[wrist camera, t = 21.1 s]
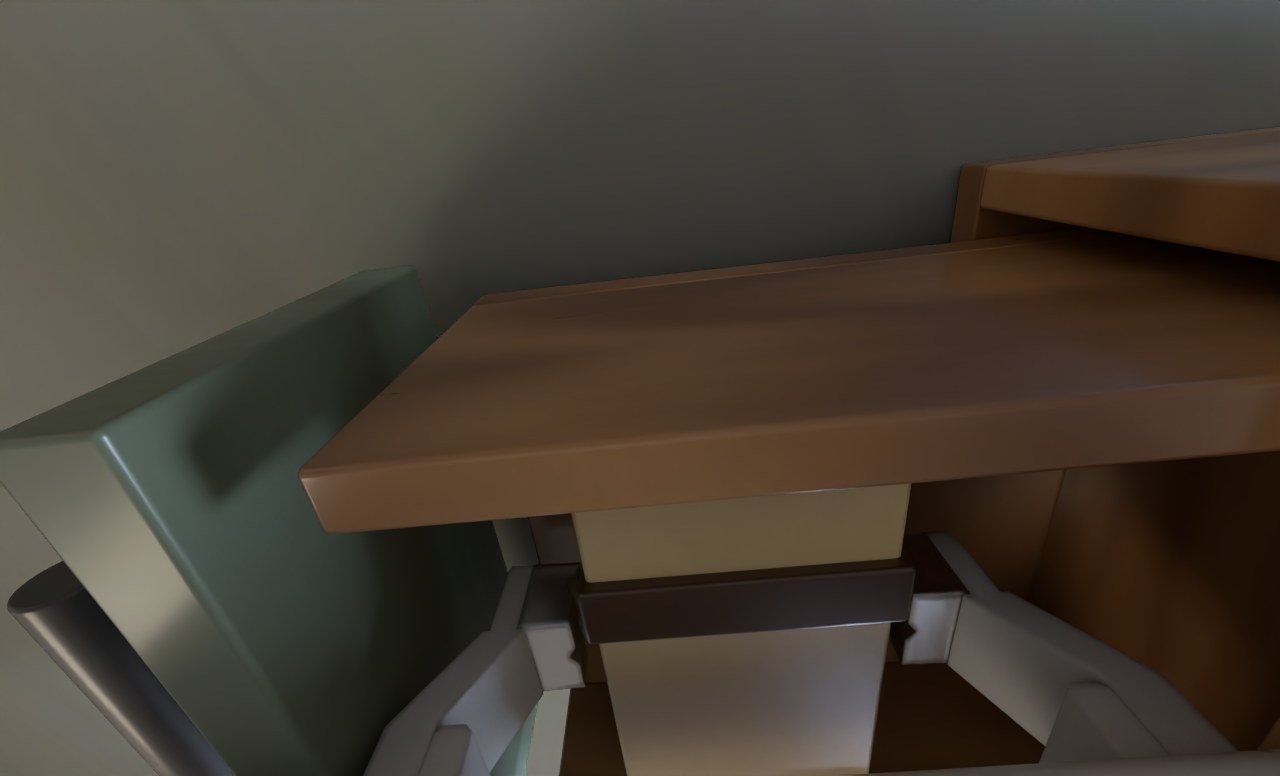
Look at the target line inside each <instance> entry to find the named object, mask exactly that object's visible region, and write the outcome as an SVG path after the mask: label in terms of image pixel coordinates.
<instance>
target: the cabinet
mask: <svg viewBox="0 0 1280 776" xmlns="http://www.w3.org/2000/svg"><path fill="white" fill-rule="evenodd" d="M1080 228H1093V229H1099V230H1105V231H1110V232H1116V233H1121V234H1127V235H1132V236H1138V237H1143V238H1149V239H1155V240H1160V241H1166V242H1171V243H1177V244H1182V245H1188V246H1193V247H1199V248H1205V249H1210V250H1216V251H1221V252H1227V253H1232V254H1238V255H1243V256H1249V257H1255V258H1260V259H1266V260H1271V261H1277V262H1280V127H1272V128H1264V129H1255V130H1247V131H1239V132H1230V133H1222V134H1213V135H1205V136H1196V137H1188V138H1179V139H1171V140H1163V141H1154V142H1146V143H1137V144H1129V145H1120V146H1112V147H1103V148H1095V149H1087V150H1078V151H1070V152H1061V153H1053V154H1044V155H1036V156H1027V157H1019V158H1011V159H1002V160H994V161H985V162H977V163H968V164H965V165H963V166H962V170H961V176H960V183H959V190H958V196H957V203H956V210H955V216H954V223H953V230H952V237H951V243H954V242H963V241H972V240H981V239H990V238H999V237H1008V236H1017V235H1026V234H1035V233H1044V232H1053V231H1062V230H1071V229H1080ZM1268 749H1280V717H1279V718H1278V720H1277V721H1276V723H1275V724H1274V725H1273V727H1272V728H1271V730H1270V731H1269V733H1268V734H1267V735H1266V737H1265V738H1264V740H1263V741H1262V743H1261V744H1260V745H1259V747H1258V748H1257V750H1268Z"/></svg>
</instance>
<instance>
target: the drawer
mask: <svg viewBox="0 0 1280 776" xmlns="http://www.w3.org/2000/svg"><path fill="white" fill-rule="evenodd" d="M0 482H1V484H2V485H3V486H4V487H5V489H6V490H7V491H8V492H9V494H10V495H11V496H12V497H13V499H14V500H15V501H16V502H17V504H18V505H19V506H20V507H21V509H22V510H23V511H24V512H25V514H26V515H27V516H28V517H29V519H30V520H31V521H32V522H33V524H34V525H35V526H36V527H37V529H38V530H39V531H40V532H41V534H42V535H43V536H44V537H45V539H46V540H47V541H48V542H49V544H50V545H51V546H52V547H53V549H54V550H55V551H56V552H57V554H58V555H59V556H60V557H61V559H62V560H63V561H62V562H60V563H58V564H55V565H54V566H52V567H50V568H48V569H46V570H44V571H43V572H41V573H39V574H38V575H36V576H34V577H33V578H31V579H30V580H29V581H27V582H26V583H24V584H23V585H22V586H21V587H20V588H18V589H17V590H16V591H15V592H14V593H13V595H12V596H11V597H10V599H9V600H8V604H7V608H8V611H9V612H10V613H11V615H12V616H13V617H14V618H15V619H16V620H17V621H18V622H19V623H20V624H21V625H22V627H23V628H24V629H25V630H26V631H27V632H28V633H29V634H30V635H31V636H32V637H33V639H34V640H35V641H36V642H37V643H38V644H39V645H40V646H41V647H42V648H43V650H44V651H45V652H46V653H47V654H48V655H49V656H50V657H51V658H52V659H53V660H54V662H55V663H56V664H57V665H58V666H59V667H60V668H61V669H62V670H63V671H64V672H65V674H66V675H67V676H68V677H69V678H70V679H71V680H72V681H73V682H74V683H75V685H76V686H77V687H78V688H79V689H80V690H81V691H82V692H83V693H84V694H85V695H86V697H87V698H88V699H89V700H90V701H91V702H92V703H93V704H94V705H95V706H96V707H97V709H98V710H99V711H100V712H101V713H102V714H103V715H104V716H105V717H106V718H107V720H108V721H109V722H110V723H111V724H112V725H113V726H114V727H115V728H116V729H117V730H118V732H119V733H120V734H121V735H122V736H123V737H124V738H125V739H126V740H127V741H128V743H129V744H130V745H131V746H132V747H133V748H134V749H135V750H136V751H137V752H138V753H139V755H140V756H141V757H142V758H143V759H144V760H145V761H146V762H147V763H148V764H149V765H150V767H151V768H152V769H153V770H154V771H155V772H156V773H157V774H158V775H159V776H363V775H364V773H365V770H366V768H367V766H368V764H369V761H370V759H371V757H372V755H373V752H374V750H375V748H376V746H377V743H378V741H379V739H380V737H381V735H382V732H383V730H384V728H385V726H386V725H387V724H388V723H389V722H390V721H392V720H393V719H394V718H395V717H396V716H397V715H398V714H399V713H400V712H401V711H402V710H403V709H404V708H405V707H406V706H407V705H408V704H409V703H410V702H411V701H412V700H413V699H414V698H415V697H416V696H417V695H418V694H419V693H420V692H421V691H422V690H423V689H424V688H425V687H426V686H427V685H428V684H429V683H430V682H431V681H433V680H434V679H435V678H436V677H437V676H438V675H439V674H440V673H441V672H442V671H443V670H444V669H445V668H446V667H447V666H448V665H449V664H450V663H451V662H452V661H453V660H454V659H455V658H456V657H457V656H458V655H459V654H460V653H461V652H462V651H463V650H464V649H465V648H466V647H467V646H468V645H469V644H470V643H471V642H472V641H473V640H475V639H476V638H477V637H478V636H479V635H480V634H481V633H482V632H485V631H490V628H491V625H492V622H493V618H494V615H495V612H496V609H497V606H498V603H499V599H500V596H501V593H502V590H503V587H504V584H505V580H506V577H507V574H508V572H507V568H506V565H505V562H504V559H503V555H502V552H501V549H500V545H499V542H498V539H497V535H496V532H495V529H494V525H493V522H492V520H499V519H510V518H522V517H528V521H529V524H530V528H531V532H532V536H533V540H534V543H535V547H536V551H537V555H538V559H539V563H540V564H557V563H574V562H580V563H582V562H581V557H580V552H579V548H578V543H577V538H576V534H575V529H574V524H573V520H572V515H571V513H579V512H590V511H601V510H613V509H624V508H635V507H647V506H658V505H669V504H681V503H692V502H704V501H715V500H726V499H738V498H749V497H760V496H772V495H783V494H795V493H806V492H817V491H829V490H840V489H851V488H863V487H874V486H885V485H897V484H908V483H911V490H910V496H909V503H908V510H907V517H906V524H905V530H904V535H906V534H916V533H920V534H921V533H926V532H936V531H946V530H947V531H949V532H951V533H953V534H954V536H955V537H956V538H957V539H958V540H959V542H960V543H961V544H962V545H963V547H964V548H965V549H966V550H967V551H968V553H969V554H970V555H971V556H972V557H973V559H974V560H975V561H976V562H977V564H978V565H979V566H980V567H981V568H982V570H983V571H984V572H985V573H986V575H987V576H988V577H989V578H990V579H991V581H992V582H993V583H994V584H995V585H996V587H997V588H998V589H999V590H1000V592H1003V591H1009V592H1011V593H1013V594H1015V595H1016V596H1018V597H1020V598H1022V599H1024V600H1026V601H1028V602H1029V603H1031V604H1033V605H1035V606H1037V607H1039V608H1041V609H1042V610H1044V611H1046V612H1048V613H1050V614H1052V615H1054V616H1055V617H1057V618H1059V619H1061V620H1063V621H1065V622H1066V623H1068V624H1070V625H1072V626H1074V627H1076V628H1078V629H1079V630H1081V631H1083V632H1085V633H1087V634H1089V635H1091V636H1092V637H1094V638H1096V639H1098V640H1100V641H1102V642H1104V643H1105V644H1107V645H1109V646H1111V647H1113V648H1115V649H1116V650H1118V651H1120V652H1122V653H1124V654H1126V655H1128V656H1129V657H1131V658H1133V659H1135V660H1137V661H1139V662H1141V663H1142V664H1144V665H1146V666H1148V667H1150V668H1152V669H1154V670H1155V671H1157V672H1159V673H1161V674H1163V675H1164V676H1165V677H1166V678H1167V679H1168V680H1169V681H1170V682H1171V683H1172V684H1173V685H1174V686H1175V687H1176V688H1177V689H1178V690H1179V691H1180V692H1181V693H1182V694H1183V695H1184V696H1185V697H1186V698H1187V699H1188V700H1189V701H1190V702H1191V703H1192V704H1193V705H1194V706H1195V707H1196V708H1197V709H1198V710H1199V711H1200V712H1201V713H1202V714H1203V715H1204V716H1205V717H1206V718H1207V719H1208V720H1209V721H1210V722H1211V723H1212V724H1213V725H1214V726H1215V727H1216V728H1217V729H1218V730H1219V731H1220V732H1221V733H1222V734H1223V736H1224V737H1225V738H1226V739H1227V740H1228V741H1229V742H1230V743H1231V744H1232V745H1233V746H1234V747H1235V748H1236V749H1237V750H1238V751H1251V750H1257V748H1258V747H1259V745H1260V744H1261V743H1262V741H1263V740H1264V738H1265V737H1266V735H1267V734H1268V733H1269V731H1270V730H1271V728H1272V727H1273V725H1274V724H1275V723H1276V721H1277V720H1278V718H1279V717H1280V262H1277V261H1271V260H1266V259H1260V258H1255V257H1249V256H1243V255H1238V254H1232V253H1227V252H1221V251H1216V250H1210V249H1205V248H1199V247H1193V246H1188V245H1182V244H1177V243H1171V242H1166V241H1160V240H1155V239H1149V238H1143V237H1138V236H1132V235H1127V234H1121V233H1116V232H1110V231H1105V230H1099V229H1093V228H1080V229H1071V230H1062V231H1053V232H1044V233H1035V234H1026V235H1017V236H1008V237H999V238H990V239H981V240H972V241H963V242H954V243H945V244H936V245H927V246H918V247H909V248H900V249H891V250H882V251H873V252H864V253H855V254H845V255H836V256H827V257H818V258H809V259H800V260H791V261H782V262H773V263H764V264H755V265H746V266H737V267H728V268H719V269H710V270H701V271H692V272H683V273H674V274H665V275H656V276H647V277H638V278H629V279H620V280H611V281H602V282H593V283H584V284H575V285H566V286H557V287H548V288H539V289H530V290H521V291H512V292H503V293H494V294H485V295H483V296H482V297H481V298H480V299H479V300H478V301H477V302H476V303H474V304H473V307H471V308H470V309H469V310H468V311H467V312H466V313H465V314H463V315H462V316H461V317H460V318H459V319H458V320H457V321H456V322H455V323H454V324H453V325H452V326H451V327H450V328H449V329H448V330H446V331H445V332H444V333H443V334H442V335H441V336H440V337H439V338H438V339H437V336H436V333H435V330H434V326H433V323H432V320H431V317H430V313H429V310H428V307H427V303H426V300H425V297H424V293H423V290H422V287H421V283H420V280H419V277H418V273H417V270H416V268H415V267H414V266H410V265H409V266H401V267H392V268H383V269H375V270H366V271H361V272H359V273H357V274H355V275H352V276H350V277H348V278H346V279H343V280H341V281H339V282H337V283H334V284H332V285H330V286H327V287H325V288H323V289H321V290H318V291H316V292H314V293H312V294H309V295H307V296H305V297H303V298H300V299H298V300H296V301H294V302H291V303H289V304H287V305H285V306H282V307H280V308H278V309H276V310H273V311H271V312H269V313H267V314H264V315H262V316H260V317H258V318H255V319H253V320H251V321H249V322H246V323H244V324H242V325H240V326H237V327H235V328H233V329H231V330H228V331H226V332H224V333H222V334H219V335H217V336H215V337H213V338H210V339H208V340H206V341H204V342H201V343H199V344H197V345H195V346H192V347H190V348H188V349H186V350H183V351H181V352H179V353H177V354H174V355H172V356H170V357H168V358H165V359H163V360H161V361H158V362H156V363H154V364H152V365H149V366H147V367H145V368H143V369H140V370H138V371H136V372H134V373H131V374H129V375H127V376H125V377H122V378H120V379H118V380H116V381H113V382H111V383H109V384H107V385H104V386H102V387H100V388H98V389H95V390H93V391H91V392H89V393H86V394H84V395H82V396H80V397H77V398H75V399H73V400H71V401H68V402H66V403H64V404H62V405H59V406H57V407H55V408H53V409H50V410H48V411H46V412H44V413H41V414H39V415H37V416H35V417H32V418H30V419H28V420H26V421H23V422H21V423H19V424H17V425H14V426H12V427H10V428H8V429H5V430H3V431H1V432H0ZM585 645H586V649H587V654H588V661H587V670H586V679H585V687H579V688H571V689H570V696H569V704H568V712H567V719H566V727H565V734H564V742H563V750H562V757H561V765H560V773H559V776H626V768H625V764H624V759H623V754H622V750H621V745H620V740H619V736H618V731H617V726H616V721H615V717H614V712H613V707H612V703H611V698H610V693H609V689H608V684H607V679H606V675H605V670H604V665H603V660H602V656H601V651H600V646H599V644H593V645H592V644H589V643H588V641H586V642H585ZM947 664H948V663H925V664H902V663H901V661H900V659H899V657H898V655H897V653H896V651H895V650H894V648H893V646H892V644H891V642H890V640H889V639H888V646H887V653H886V659H885V666H884V673H883V680H882V686H881V693H880V700H879V707H878V714H877V720H876V727H875V734H874V741H873V748H872V754H871V761H870V768H869V770H870V772H871V774H873V773H889V772H905V771H922V770H938V769H954V768H971V767H987V766H1003V765H1020V764H1036V763H1039V761H1040V759H1041V756H1042V754H1043V751H1044V748H1045V746H1044V745H1043V744H1042V743H1041V742H1039V741H1038V740H1037V739H1036V738H1035V737H1033V736H1032V735H1031V734H1030V733H1029V732H1027V731H1026V730H1025V729H1024V728H1023V727H1021V726H1020V725H1019V724H1018V723H1017V722H1015V721H1014V720H1013V719H1012V718H1011V717H1009V716H1008V715H1007V714H1006V713H1005V712H1003V711H1002V710H1001V709H1000V708H999V707H997V706H996V705H995V704H994V703H993V702H991V701H990V700H989V699H988V698H987V697H985V696H984V695H983V694H982V693H981V692H979V691H978V690H977V689H976V688H975V687H973V686H972V685H971V684H970V683H969V682H967V681H966V680H965V679H964V678H963V677H961V676H960V675H959V674H958V673H957V672H955V671H954V670H953V669H952V668H951V667H949V666H948V665H947ZM537 706H538V703H537V704H536V705H535V707H534V708H533V710H532V711H531V713H530V714H529V716H528V717H527V719H526V720H525V722H524V723H523V725H522V726H521V728H520V729H519V730H518V732H517V733H516V735H515V736H514V738H513V739H512V741H511V742H510V744H509V745H508V747H507V748H506V750H505V751H504V753H503V754H502V755H501V757H500V758H499V760H498V761H497V763H496V764H495V766H494V767H493V769H492V770H491V772H490V773H489V774H490V776H525V771H526V765H527V760H528V755H529V749H530V744H531V739H532V733H533V728H534V722H535V717H536V712H537Z"/></svg>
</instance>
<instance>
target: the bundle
mask: <svg viewBox="0 0 1280 776" xmlns="http://www.w3.org/2000/svg"><path fill="white" fill-rule="evenodd" d="M910 490H911V483H908V484H897V485H885V486H874V487H863V488H851V489H840V490H829V491H817V492H806V493H795V494H783V495H772V496H760V497H749V498H738V499H726V500H715V501H704V502H692V503H681V504H669V505H658V506H647V507H635V508H624V509H613V510H601V511H590V512H579V513H571V515H572V520H573V524H574V529H575V534H576V538H577V543H578V548H579V552H580V557H581V562H582V563H581V570H580V577H579V584H578V591H577V598H578V603H579V607H580V611H581V616H582V620H583V625H584V629H585V633H586V638H587V641H588V643H589V644H592V645H593V644H599V646H600V651H601V656H602V660H603V665H604V670H605V675H606V679H607V684H608V689H609V693H610V698H611V703H612V707H613V712H614V717H615V721H616V726H617V731H618V736H619V740H620V745H621V750H622V754H623V759H624V764H625V768H626V776H840V775H856V774H871V772H870V770H869V768H870V761H871V754H872V748H873V741H874V734H875V727H876V720H877V714H878V707H879V700H880V693H881V686H882V680H883V673H884V666H885V659H886V653H887V646H888V639H889V632H890V625H891V622H903V621H906V620H907V619H908V615H909V609H910V603H911V597H912V591H913V585H914V579H915V573H916V571H915V567H914V565H913V563H912V562H911V560H910V559H909V557H908V556H907V554H906V552H905V551H904V549H903V548H902V544H903V537H904V530H905V524H906V517H907V510H908V503H909V496H910Z"/></svg>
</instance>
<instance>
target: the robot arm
mask: <svg viewBox="0 0 1280 776" xmlns="http://www.w3.org/2000/svg"><path fill="white" fill-rule="evenodd" d="M902 548H903V549H904V551H905V552H906V554H907V556H908V557H909V559H910V560H911V562H912V563H913V565H914V567H915V571H916V573H915V579H914V585H913V591H912V597H911V603H910V609H909V615H908V619H907V620H906V621H903V622H891V625H890V632H889V640H890V642H891V644H892V646H893V648H894V650H895V651H896V653H897V655H898V657H899V659H900V661H901V663H902V664H925V663H948V664H947V665H948V666H949V667H951V668H952V669H953V670H954V671H955V672H957V673H958V674H959V675H960V676H961V677H963V678H964V679H965V680H966V681H967V682H969V683H970V684H971V685H972V686H973V687H975V688H976V689H977V690H978V691H979V692H981V693H982V694H983V695H984V696H985V697H987V698H988V699H989V700H990V701H991V702H993V703H994V704H995V705H996V706H997V707H999V708H1000V709H1001V710H1002V711H1003V712H1005V713H1006V714H1007V715H1008V716H1009V717H1011V718H1012V719H1013V720H1014V721H1015V722H1017V723H1018V724H1019V725H1020V726H1021V727H1023V728H1024V729H1025V730H1026V731H1027V732H1029V733H1030V734H1031V735H1032V736H1033V737H1035V738H1036V739H1037V740H1038V741H1039V742H1041V743H1042V744H1043V745H1044V746H1045V748H1044V751H1043V754H1042V756H1041V759H1040V761H1039V763H1036V764H1020V765H1003V766H987V767H971V768H954V769H938V770H922V771H905V772H889V773H873V774H856V775H840V776H1280V749H1268V750H1251V751H1238V750H1237V749H1236V748H1235V747H1234V746H1233V745H1232V744H1231V743H1230V742H1229V741H1228V740H1227V739H1226V738H1225V737H1224V736H1223V734H1222V733H1221V732H1220V731H1219V730H1218V729H1217V728H1216V727H1215V726H1214V725H1213V724H1212V723H1211V722H1210V721H1209V720H1208V719H1207V718H1206V717H1205V716H1204V715H1203V714H1202V713H1201V712H1200V711H1199V710H1198V709H1197V708H1196V707H1195V706H1194V705H1193V704H1192V703H1191V702H1190V701H1189V700H1188V699H1187V698H1186V697H1185V696H1184V695H1183V694H1182V693H1181V692H1180V691H1179V690H1178V689H1177V688H1176V687H1175V686H1174V685H1173V684H1172V683H1171V682H1170V681H1169V680H1168V679H1167V678H1166V677H1165V676H1164V675H1163V674H1161V673H1159V672H1157V671H1155V670H1154V669H1152V668H1150V667H1148V666H1146V665H1144V664H1142V663H1141V662H1139V661H1137V660H1135V659H1133V658H1131V657H1129V656H1128V655H1126V654H1124V653H1122V652H1120V651H1118V650H1116V649H1115V648H1113V647H1111V646H1109V645H1107V644H1105V643H1104V642H1102V641H1100V640H1098V639H1096V638H1094V637H1092V636H1091V635H1089V634H1087V633H1085V632H1083V631H1081V630H1079V629H1078V628H1076V627H1074V626H1072V625H1070V624H1068V623H1066V622H1065V621H1063V620H1061V619H1059V618H1057V617H1055V616H1054V615H1052V614H1050V613H1048V612H1046V611H1044V610H1042V609H1041V608H1039V607H1037V606H1035V605H1033V604H1031V603H1029V602H1028V601H1026V600H1024V599H1022V598H1020V597H1018V596H1016V595H1015V594H1013V593H1011V592H1009V591H1003V592H1000V590H999V589H998V588H997V587H996V585H995V584H994V583H993V582H992V581H991V579H990V578H989V577H988V576H987V575H986V573H985V572H984V571H983V570H982V568H981V567H980V566H979V565H978V564H977V562H976V561H975V560H974V559H973V557H972V556H971V555H970V554H969V553H968V551H967V550H966V549H965V548H964V547H963V545H962V544H961V543H960V542H959V540H958V539H957V538H956V537H955V536H954V534H953V533H951V532H949V531H947V530H946V531H936V532H926V533H921V534H920V533H916V534H906V535H904V537H903V544H902ZM580 570H581V563H580V562H574V563H557V564H540V565H533V566H513V567H512V568H511V569H510V571H509V572H508V574H507V577H506V580H505V584H504V587H503V590H502V593H501V596H500V599H499V603H498V606H497V609H496V612H495V615H494V618H493V622H492V625H491V628H490V631H485V632H482V633H481V634H480V635H479V636H478V637H477V638H476V639H475V640H473V641H472V642H471V643H470V644H469V645H468V646H467V647H466V648H465V649H464V650H463V651H462V652H461V653H460V654H459V655H458V656H457V657H456V658H455V659H454V660H453V661H452V662H451V663H450V664H449V665H448V666H447V667H446V668H445V669H444V670H443V671H442V672H441V673H440V674H439V675H438V676H437V677H436V678H435V679H434V680H433V681H431V682H430V683H429V684H428V685H427V686H426V687H425V688H424V689H423V690H422V691H421V692H420V693H419V694H418V695H417V696H416V697H415V698H414V699H413V700H412V701H411V702H410V703H409V704H408V705H407V706H406V707H405V708H404V709H403V710H402V711H401V712H400V713H399V714H398V715H397V716H396V717H395V718H394V719H393V720H392V721H390V722H389V723H388V724H387V725H386V726H385V728H384V730H383V732H382V735H381V737H380V739H379V741H378V743H377V746H376V748H375V750H374V752H373V755H372V757H371V759H370V761H369V764H368V766H367V768H366V770H365V773H364V775H363V776H490V774H489V773H490V772H491V770H492V769H493V767H494V766H495V764H496V763H497V761H498V760H499V758H500V757H501V755H502V754H503V753H504V751H505V750H506V748H507V747H508V745H509V744H510V742H511V741H512V739H513V738H514V736H515V735H516V733H517V732H518V730H519V729H520V728H521V726H522V725H523V723H524V722H525V720H526V719H527V717H528V716H529V714H530V713H531V711H532V710H533V708H534V707H535V705H536V704H537V703H538V701H539V700H540V698H541V697H542V695H543V691H549V690H559V689H569V688H579V687H585V679H586V670H587V661H588V654H587V649H586V645H585V642H586V641H587V638H586V633H585V629H584V625H583V620H582V616H581V611H580V607H579V603H578V598H577V591H578V584H579V577H580Z"/></svg>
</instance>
